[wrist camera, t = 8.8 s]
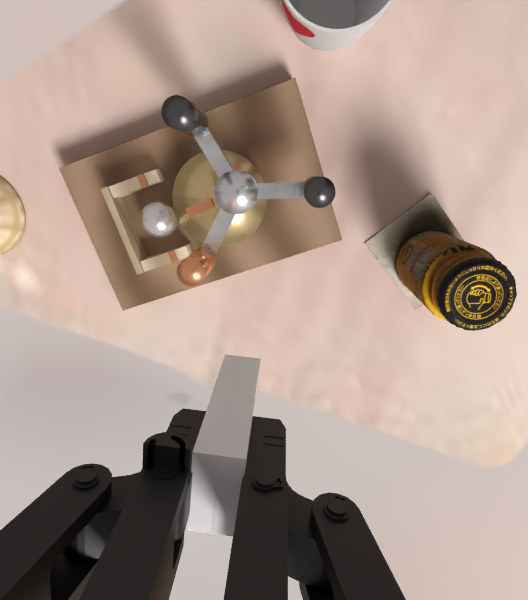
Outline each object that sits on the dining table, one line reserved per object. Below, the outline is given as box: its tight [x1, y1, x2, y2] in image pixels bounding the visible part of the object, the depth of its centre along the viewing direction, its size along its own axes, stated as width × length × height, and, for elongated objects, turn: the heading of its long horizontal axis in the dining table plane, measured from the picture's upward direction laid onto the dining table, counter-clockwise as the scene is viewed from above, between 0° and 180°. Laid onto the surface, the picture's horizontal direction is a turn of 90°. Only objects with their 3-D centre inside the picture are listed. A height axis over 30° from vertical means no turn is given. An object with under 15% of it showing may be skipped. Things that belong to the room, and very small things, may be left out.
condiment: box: [365, 194, 517, 330], centre depth 35 cm, size 7×8×12 cm
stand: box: [59, 78, 342, 310], centre depth 38 cm, size 22×14×4 cm, turn 109°
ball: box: [140, 200, 178, 238], centre depth 37 cm, size 3×3×3 cm
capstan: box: [162, 95, 335, 287], centre depth 33 cm, size 13×12×10 cm
